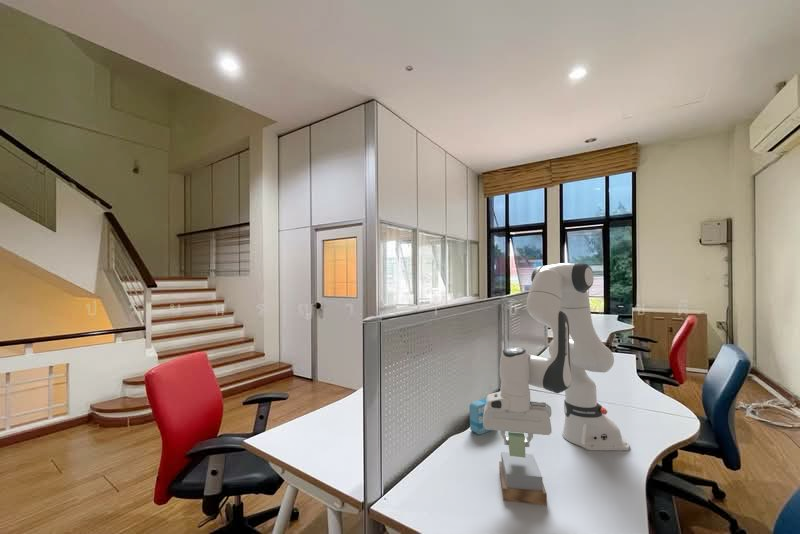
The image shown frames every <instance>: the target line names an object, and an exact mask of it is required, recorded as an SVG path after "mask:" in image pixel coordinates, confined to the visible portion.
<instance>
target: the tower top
mask: <svg viewBox="0 0 800 534" xmlns="http://www.w3.org/2000/svg"><path fill="white" fill-rule="evenodd" d="M500 457H501V458H500V459H501V462H502V468H503V473H504V477H505V481H506V486H507V488H516V489H527V490H538V491H543V484H544V481H543V475H542V472H541V470H540V468H539V465H538V462H537V460H536V458H535V455H534V453H533V454H532V453H525V458H524V457H515V456H510V453H509V451H508V452H505V451H501V452H500Z"/></svg>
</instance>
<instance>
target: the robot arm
mask: <svg viewBox="0 0 800 534" xmlns="http://www.w3.org/2000/svg"><path fill="white" fill-rule="evenodd" d="M531 273H532V274H531V276H530V277H531V284H530V286H529V290H528V294H527V298H526V304H525V306H526V307H525V308H526V311H527V313H528V314H529V315H530V317H531V318H532V319H534V320H535V321H537V323H540V324H542V325H544V326H545V327H547V328H549V329H551V331H552V340H551V341H550V342H549V345H548V353H549V355H550V357H546V356H540V355H535V354H531V353H528V352H527V350H526V349H525V348H524V347H520V346H511V347H506V348H504V349H503V350H502V351H501V355H500V359H499V361H500V362H499V377H500V381H501V384H500V385H501V386H500V390H499V391H497V392H492V393H489V394H487V395H486V398H487V399H486V401H487V403H486V405H485V407H484V413H483V427H484V428H485V429H487V430H491V431H499V432H500V436H501V437H502V439H503V443H504V444H503V445H505V446H509V437H508V436H506V432H507V433H508V432H519V433H524V434H527V437H526V438H525V448H530V445H531V444H530V443H531V441H532V440H533V438H534V435H542V436H550V435H551V434H552V431H553V430H552V424H551V416H552V407H551V406H550V405H549V404H547V402H537V401H532V400H531V390H530V388H529V387H530V386H532V387H537V388H540V389H544V390H546V391H549V392H552V393H555V394H560V393H563V392H564V395H565V396H564V398H565V399H563V400H564V401H563V409H564V411H563V412H564V415H565V417H564V425H563V429H562V434H561V435H562V437H563V438H564V439H565V440H566V441H568V442H570V443H572V444H574V445H577V446H579V447H581V448H583V449H585V450H587V451H629V450H630V444H629V442H628V440H627V439H626V438H625V437H624V436H623V435H622V433H621V430H620V428H619V426H618V425H617V424H616V423H615V422H614V420H612V419H610V418H609V417H608V416H606V415H607V414H608V410H607V409H606V408H605V407H603V406H602V405H601V404H599V403H598V399H597V398H598V397H597V385H596V383H595V381H594V380H593V379H592V378H591V377H590V376H589V375H588V373H587V372H586V371H588V372H592V373H604V374H605V373H607V372H609V371H610V370H611V369H612V368H613V366H614V362H615V360H614V359H615V358H614V353H613V351H612V350H611V349H610V348H609V347H607V346H606V345H605V343H604V342H603V341H602V340H601V339H600V337H599V335H598V334H597V333H596V330H595V328H594V324H593V320H592V313H591V305H590V298H589V293H588V290H589V289H591V287H592V286H593V283H594V272H593V269H592V268H591V266H590V265H588V264H587V263H585V262H584V263H583V262H575V263H573V262H570V263H569V262H560V263H555V264H548V265H540V266H537V267H535V268H534V269H533V271H532V272H531ZM529 385H530V386H529Z"/></svg>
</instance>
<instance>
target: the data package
mask: <svg viewBox="0 0 800 534" xmlns="http://www.w3.org/2000/svg"><path fill="white" fill-rule="evenodd" d="M486 399H487V397H484V398H481V399H478V400H475V401H472V402H471V403H470V404H469V427H470V429H469V430H471V431H472V432H473V433H475V434H478V435H482V434H485V433H487V432H491V431H492V430H487V429H485V428H484V427H483V413H484V407H485V405H486V403H487V401H486Z"/></svg>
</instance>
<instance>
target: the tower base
mask: <svg viewBox="0 0 800 534" xmlns="http://www.w3.org/2000/svg"><path fill="white" fill-rule="evenodd" d="M498 467H499V476H500V477H499V479H500V486H501V494H502V500H503V501H507V502H514V503H521V504H528V505H529V504H531V505H539V506H544V507H547V506H548V497H547V493H548V492H547V491H546V488H545V484H544V483H543V491H538V490H527V489H516V488H507V486H506V481H505V477H504V473H503V468H502V461H499V463H498Z"/></svg>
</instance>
